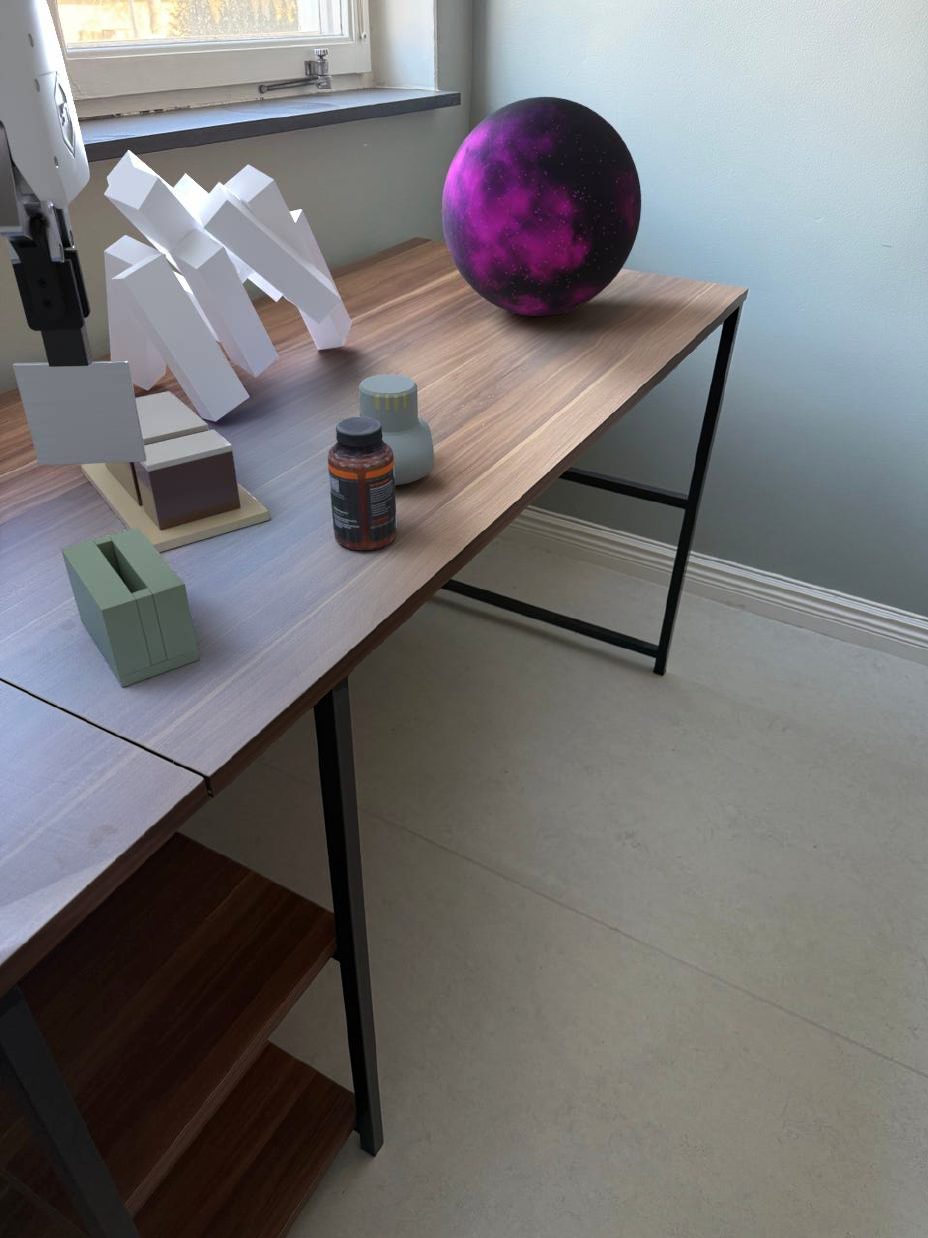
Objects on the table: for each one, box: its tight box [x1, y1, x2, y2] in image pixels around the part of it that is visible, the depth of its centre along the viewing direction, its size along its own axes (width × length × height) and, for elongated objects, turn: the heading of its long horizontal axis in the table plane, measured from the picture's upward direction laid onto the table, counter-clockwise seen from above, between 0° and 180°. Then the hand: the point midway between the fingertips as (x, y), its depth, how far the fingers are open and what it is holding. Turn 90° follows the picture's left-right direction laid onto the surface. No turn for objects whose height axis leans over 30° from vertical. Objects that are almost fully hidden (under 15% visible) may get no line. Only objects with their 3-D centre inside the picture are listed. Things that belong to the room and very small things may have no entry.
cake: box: [80, 390, 271, 553], centre depth 87 cm, size 12×20×8 cm, turn 36°
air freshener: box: [358, 373, 435, 486], centre depth 92 cm, size 11×8×10 cm
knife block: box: [60, 527, 200, 688], centre depth 68 cm, size 10×6×7 cm, turn 36°
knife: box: [12, 263, 146, 467], centre depth 57 cm, size 7×2×13 cm, turn 100°
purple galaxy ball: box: [441, 96, 642, 317], centre depth 134 cm, size 30×30×30 cm
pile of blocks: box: [103, 149, 353, 423], centre depth 109 cm, size 35×30×35 cm
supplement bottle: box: [327, 416, 398, 551], centre depth 80 cm, size 6×6×11 cm
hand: (60, 321), depth 55 cm, fingers closed on knife, 1 cm apart
